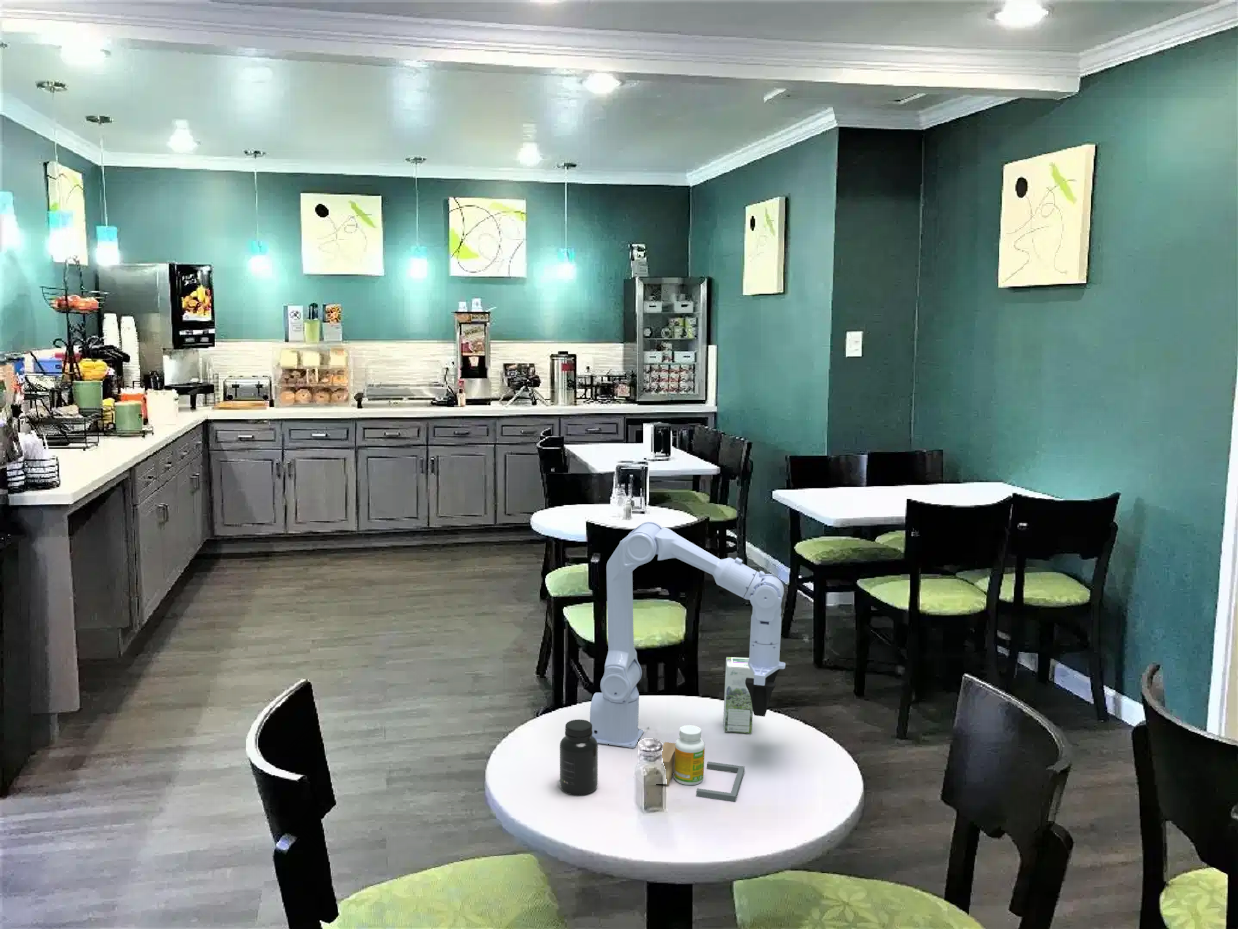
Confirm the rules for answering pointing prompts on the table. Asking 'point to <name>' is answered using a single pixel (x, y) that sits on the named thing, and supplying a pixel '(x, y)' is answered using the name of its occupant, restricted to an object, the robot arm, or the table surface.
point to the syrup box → (737, 696)
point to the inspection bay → (736, 785)
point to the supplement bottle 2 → (689, 756)
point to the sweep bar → (669, 759)
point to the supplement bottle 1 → (578, 759)
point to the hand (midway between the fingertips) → (761, 707)
